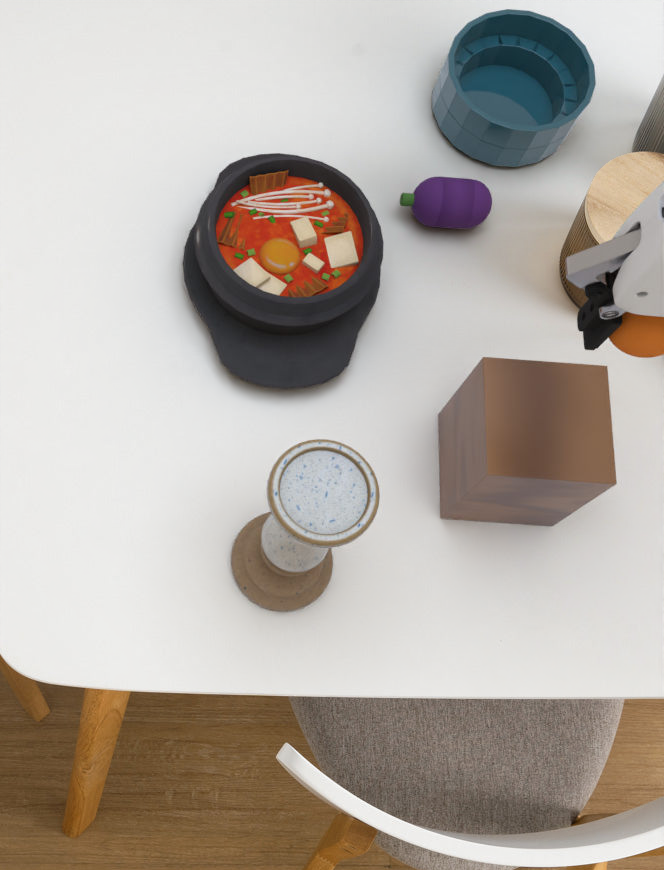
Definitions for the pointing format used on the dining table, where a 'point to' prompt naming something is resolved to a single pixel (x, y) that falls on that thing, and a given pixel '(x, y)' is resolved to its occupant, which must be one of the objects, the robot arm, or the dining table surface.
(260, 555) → the candle holder
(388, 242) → the dining table surface
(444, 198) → the toy eggplant
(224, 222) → the casserole
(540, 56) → the bowl
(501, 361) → the cube
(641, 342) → the toy orange
